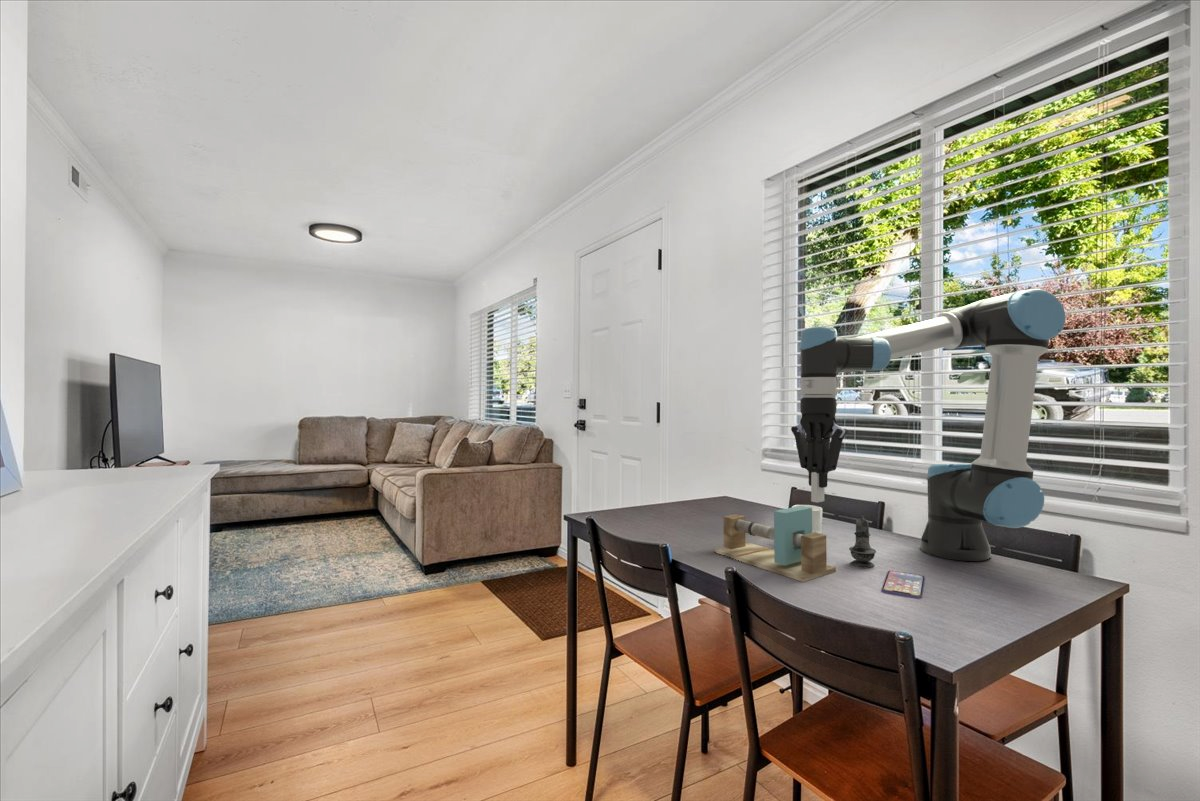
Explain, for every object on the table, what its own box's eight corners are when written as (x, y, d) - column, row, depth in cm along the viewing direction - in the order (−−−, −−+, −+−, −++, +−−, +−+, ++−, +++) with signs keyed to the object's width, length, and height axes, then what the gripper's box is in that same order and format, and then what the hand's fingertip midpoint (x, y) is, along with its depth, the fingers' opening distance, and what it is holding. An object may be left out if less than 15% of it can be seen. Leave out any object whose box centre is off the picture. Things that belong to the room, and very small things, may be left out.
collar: (812, 557, 130) (811, 507, 130) (785, 565, 124) (784, 513, 124) (801, 554, 132) (801, 505, 132) (774, 562, 127) (774, 510, 127)
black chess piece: (870, 561, 133) (870, 512, 133) (880, 568, 128) (880, 517, 128) (845, 560, 134) (845, 512, 134) (854, 568, 128) (854, 517, 128)
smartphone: (925, 579, 121) (922, 601, 108) (888, 573, 125) (880, 593, 112) (925, 575, 121) (922, 596, 108) (888, 569, 125) (880, 589, 112)
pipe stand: (835, 571, 126) (835, 532, 126) (803, 581, 119) (802, 540, 119) (745, 545, 148) (745, 512, 148) (714, 552, 142) (713, 518, 142)
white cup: (786, 541, 153) (786, 505, 153) (812, 539, 154) (811, 504, 154) (802, 548, 145) (801, 511, 145) (828, 546, 146) (828, 509, 146)
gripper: (783, 396, 126) (783, 498, 126) (834, 396, 115) (834, 508, 115) (803, 396, 130) (803, 495, 130) (855, 396, 119) (854, 504, 119)
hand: (817, 501), depth 122 cm, fingers closed
